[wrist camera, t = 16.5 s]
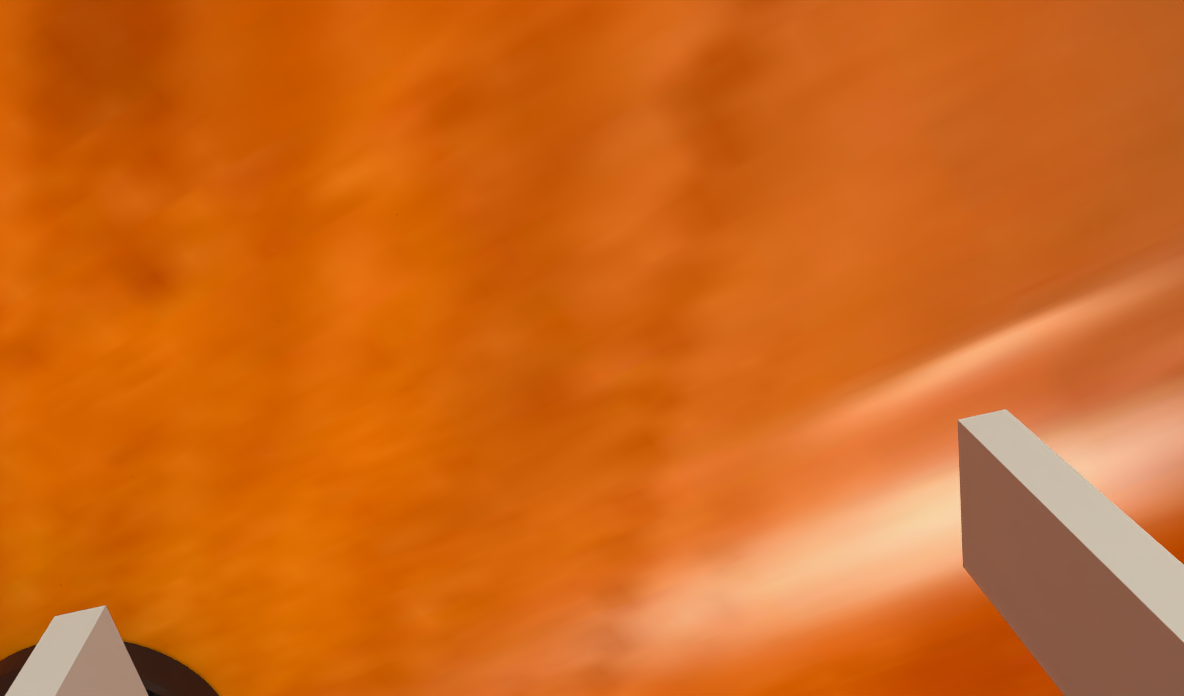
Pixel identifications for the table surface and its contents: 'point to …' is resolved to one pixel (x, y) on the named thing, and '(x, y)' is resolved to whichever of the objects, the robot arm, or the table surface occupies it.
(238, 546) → the table surface
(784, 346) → the table surface
